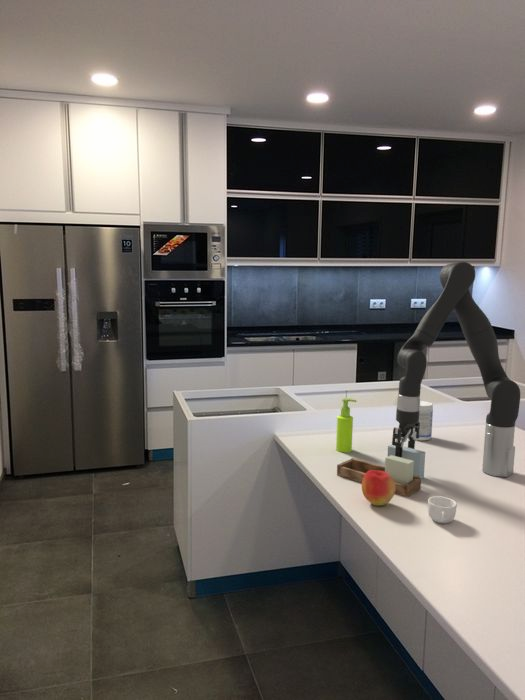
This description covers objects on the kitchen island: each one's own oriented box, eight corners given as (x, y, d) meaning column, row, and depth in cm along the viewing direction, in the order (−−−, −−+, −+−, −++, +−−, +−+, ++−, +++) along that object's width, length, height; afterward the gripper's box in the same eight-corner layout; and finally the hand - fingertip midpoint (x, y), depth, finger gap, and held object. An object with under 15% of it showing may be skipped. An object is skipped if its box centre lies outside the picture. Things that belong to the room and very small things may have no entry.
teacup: (426, 512, 163) (427, 494, 163) (454, 515, 162) (455, 497, 161) (427, 528, 154) (428, 509, 153) (457, 531, 152) (458, 512, 151)
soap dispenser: (355, 452, 215) (357, 401, 212) (337, 452, 215) (338, 400, 212) (353, 447, 220) (355, 397, 217) (335, 447, 221) (337, 397, 218)
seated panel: (412, 488, 179) (413, 461, 178) (406, 491, 177) (408, 463, 175) (389, 481, 185) (391, 455, 183) (384, 484, 182) (385, 457, 181)
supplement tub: (435, 441, 231) (437, 405, 228) (412, 441, 229) (414, 406, 227) (425, 434, 240) (427, 400, 238) (403, 434, 239) (405, 400, 237)
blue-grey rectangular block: (423, 477, 191) (425, 451, 189) (418, 480, 188) (420, 454, 187) (391, 468, 199) (393, 443, 197) (386, 471, 196) (388, 446, 195)
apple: (370, 512, 163) (371, 478, 161) (356, 499, 172) (357, 467, 170) (400, 508, 165) (401, 476, 164) (384, 496, 175) (386, 464, 173)
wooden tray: (420, 489, 180) (421, 477, 180) (407, 497, 174) (408, 484, 173) (350, 468, 197) (351, 457, 197) (336, 475, 191) (337, 463, 191)
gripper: (407, 413, 182) (404, 462, 185) (428, 406, 193) (424, 452, 195) (387, 409, 187) (384, 456, 190) (408, 402, 198) (405, 447, 200)
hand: (404, 454), depth 193 cm, fingers open, 8 cm apart
